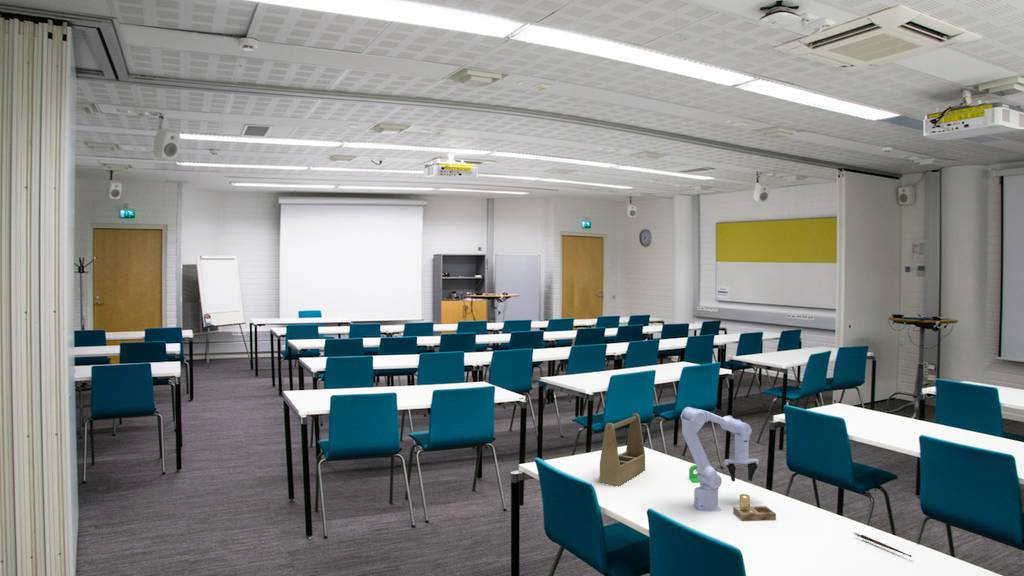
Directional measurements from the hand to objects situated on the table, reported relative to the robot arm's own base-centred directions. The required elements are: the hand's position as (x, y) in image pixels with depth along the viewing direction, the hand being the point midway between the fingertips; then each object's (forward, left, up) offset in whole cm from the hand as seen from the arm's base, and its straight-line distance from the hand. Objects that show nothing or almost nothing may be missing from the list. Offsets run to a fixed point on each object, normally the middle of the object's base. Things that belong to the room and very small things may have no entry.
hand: (741, 480), depth 289 cm
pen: (+34, -39, -9) cm, 52 cm away
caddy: (-43, +39, -10) cm, 59 cm away
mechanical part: (-6, +30, -10) cm, 32 cm away
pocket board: (-2, -16, -10) cm, 19 cm away
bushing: (-6, -16, -7) cm, 18 cm away
